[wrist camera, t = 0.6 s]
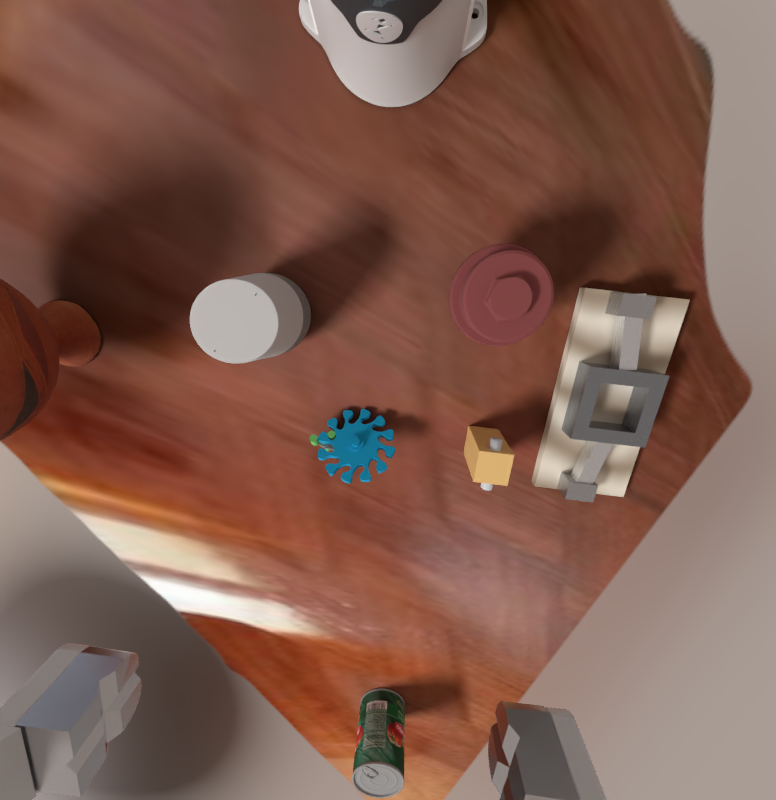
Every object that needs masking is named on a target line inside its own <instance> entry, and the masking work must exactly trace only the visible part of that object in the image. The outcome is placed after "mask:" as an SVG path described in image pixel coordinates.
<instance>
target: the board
mask: <svg viewBox="0 0 776 800" xmlns="http://www.w3.org/2000/svg"><path fill="white" fill-rule="evenodd" d="M610 293H627V292H618V291H609V290H601V289H592V288H580V289H579V293H578V297H577V301H576V305H575V309H574V313H573V317H572V321H571V325H570V329H569V333H568V337H567V341H566V345H565V349H564V353H563V357H562V361H561V365H560V369H559V373H558V377H557V381H556V385H555V389H554V393H553V397H552V401H551V405H550V409H549V413H548V417H547V421H546V425H545V429H544V433H543V437H542V441H541V445H540V449H539V453H538V457H537V461H536V465H535V469H534V473H533V477H532V480H531V481H532V482H533V484H534V486H537V487H545V488H553V489H558V488H557V486H558V482H559V478H560V475H561V472H567V473H571V472H572V470H573V468H574V466H575V464H576V462H577V460H578V458H579V456H580V454H581V452H582V450H583V448H584V446H585V444H586V442H587V441H584V440H576V439H570V438H569V437H568V436H567V435H566V434H565V433H564V432H563V431H562V430H561V429H562V425H563V421H564V418H565V414H566V410H567V406H568V403H569V399H570V395H571V391H572V388H573V384H574V380H575V376H576V372H577V369H578V365H579V361H580V362H588V363H597V364H605V365H610V362H611V353H612V344H613V334H614V325H615V316H616V315H610V314H605V311H606V308H607V304H608V300H609V297H610ZM646 296H653V295H646ZM653 297H657V299H656V303H655V306H654V309H653V312H652V315H651V319H643V326H642V333H641V341H640V349H639V356H638V364H637V368H640V369H648V370H655V371H657V372H660V373H663V374H665V372H666V369H667V366H668V364H669V361H670V358H671V355H672V352H673V349H674V346H675V343H676V340H677V337H678V334H679V331H680V328H681V325H682V322H683V319H684V316H685V313H686V310H687V307H688V304H689V301H690V300H688V299H680V298H671V297H662V296H653ZM633 387H634V386H625V385H616V384H608V383H601V386H600V390H599V393H598V397H597V400H596V404H595V407H594V411H593V414H592V418H591V421H599V422H608V423H616V424H622V422H623V419H624V416H625V413H626V409H627V406H628V403H629V400H630V397H631V394H632V390H633ZM639 449H640V447H635V446H626V445H618V444H613V446H612V448H611V450H610V452H609V454H608V455H607V457H606V459H605V461H604V463H603V465H602V467H601V469H600V471H599V473H598V475H597V477H596V479H595V480H594V482H595V483H596V484H597V485H598V488H597V492H596V494H603V495H611V496H620V497H624V494H625V491H626V488H627V485H628V482H629V479H630V476H631V473H632V470H633V467H634V464H635V461H636V458H637V455H638V452H639Z"/></svg>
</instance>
